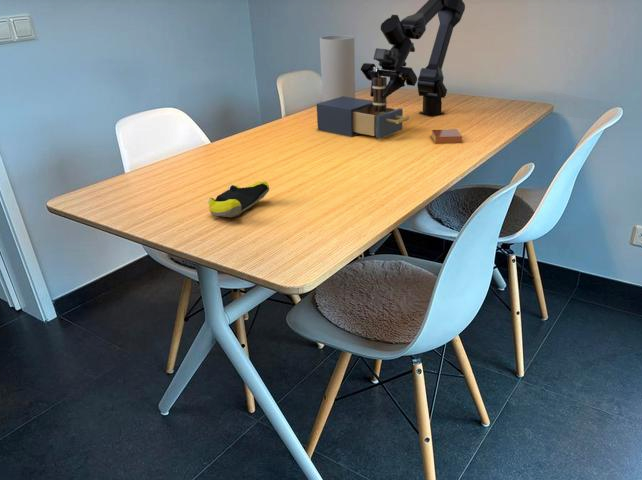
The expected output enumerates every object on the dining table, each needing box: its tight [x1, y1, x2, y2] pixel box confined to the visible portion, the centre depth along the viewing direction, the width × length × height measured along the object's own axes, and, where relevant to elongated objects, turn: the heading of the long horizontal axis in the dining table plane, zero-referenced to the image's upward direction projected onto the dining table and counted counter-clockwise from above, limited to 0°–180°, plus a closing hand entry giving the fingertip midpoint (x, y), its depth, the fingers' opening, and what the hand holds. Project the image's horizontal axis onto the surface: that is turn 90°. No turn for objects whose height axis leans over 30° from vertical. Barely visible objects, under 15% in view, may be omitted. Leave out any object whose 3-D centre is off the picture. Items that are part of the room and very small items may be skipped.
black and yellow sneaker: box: [206, 181, 270, 218], centre depth 125 cm, size 15×6×10 cm
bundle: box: [372, 76, 388, 112], centre depth 174 cm, size 5×5×10 cm
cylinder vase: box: [319, 34, 356, 102], centre depth 206 cm, size 12×12×25 cm
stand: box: [431, 128, 463, 144], centre depth 172 cm, size 8×8×2 cm
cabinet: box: [316, 96, 373, 138], centre depth 184 cm, size 15×14×9 cm
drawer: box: [352, 105, 410, 140], centre depth 176 cm, size 18×12×7 cm
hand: (377, 96), depth 173 cm, fingers closed on bundle, 4 cm apart
